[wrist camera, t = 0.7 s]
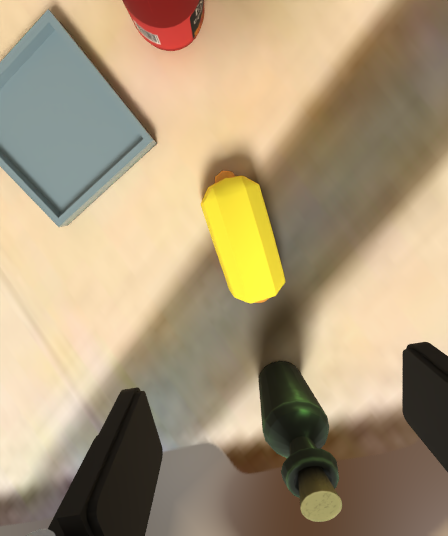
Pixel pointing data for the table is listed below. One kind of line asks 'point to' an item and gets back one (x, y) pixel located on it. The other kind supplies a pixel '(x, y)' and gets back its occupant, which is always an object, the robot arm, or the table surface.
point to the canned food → (167, 21)
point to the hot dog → (243, 237)
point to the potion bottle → (299, 439)
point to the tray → (63, 123)
